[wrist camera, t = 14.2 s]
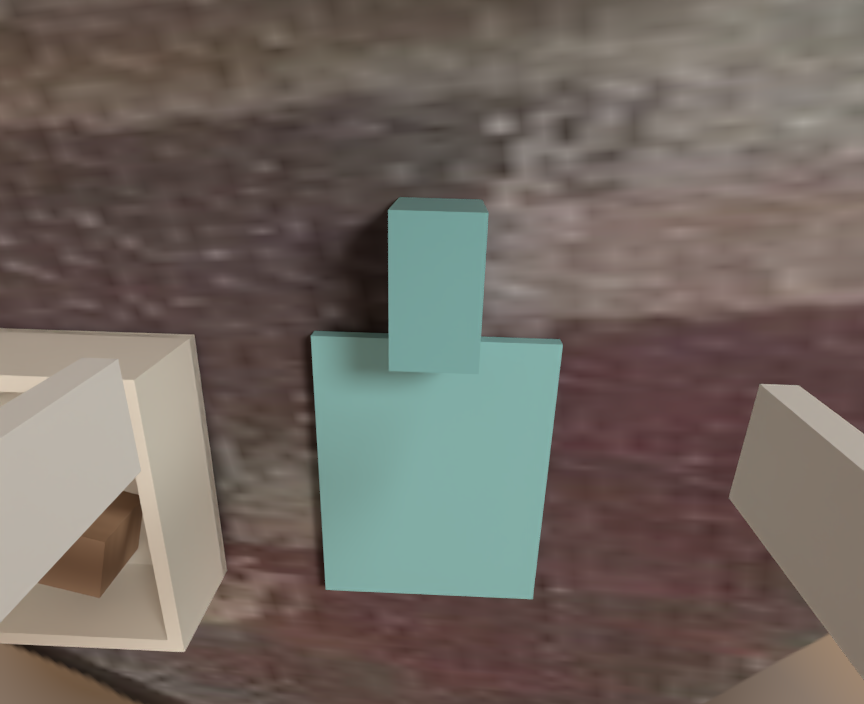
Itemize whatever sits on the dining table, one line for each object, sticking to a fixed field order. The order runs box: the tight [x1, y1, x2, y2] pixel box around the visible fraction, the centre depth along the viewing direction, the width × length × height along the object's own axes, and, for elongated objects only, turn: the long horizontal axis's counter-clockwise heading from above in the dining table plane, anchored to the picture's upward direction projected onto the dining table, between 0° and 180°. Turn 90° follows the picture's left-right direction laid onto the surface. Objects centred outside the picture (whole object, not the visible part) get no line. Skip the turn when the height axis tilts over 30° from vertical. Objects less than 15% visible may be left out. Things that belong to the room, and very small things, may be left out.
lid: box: [311, 197, 563, 599], centre depth 29 cm, size 24×13×5 cm, turn 179°
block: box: [38, 491, 142, 598], centre depth 31 cm, size 4×4×4 cm
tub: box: [0, 328, 227, 652], centre depth 30 cm, size 16×12×6 cm
